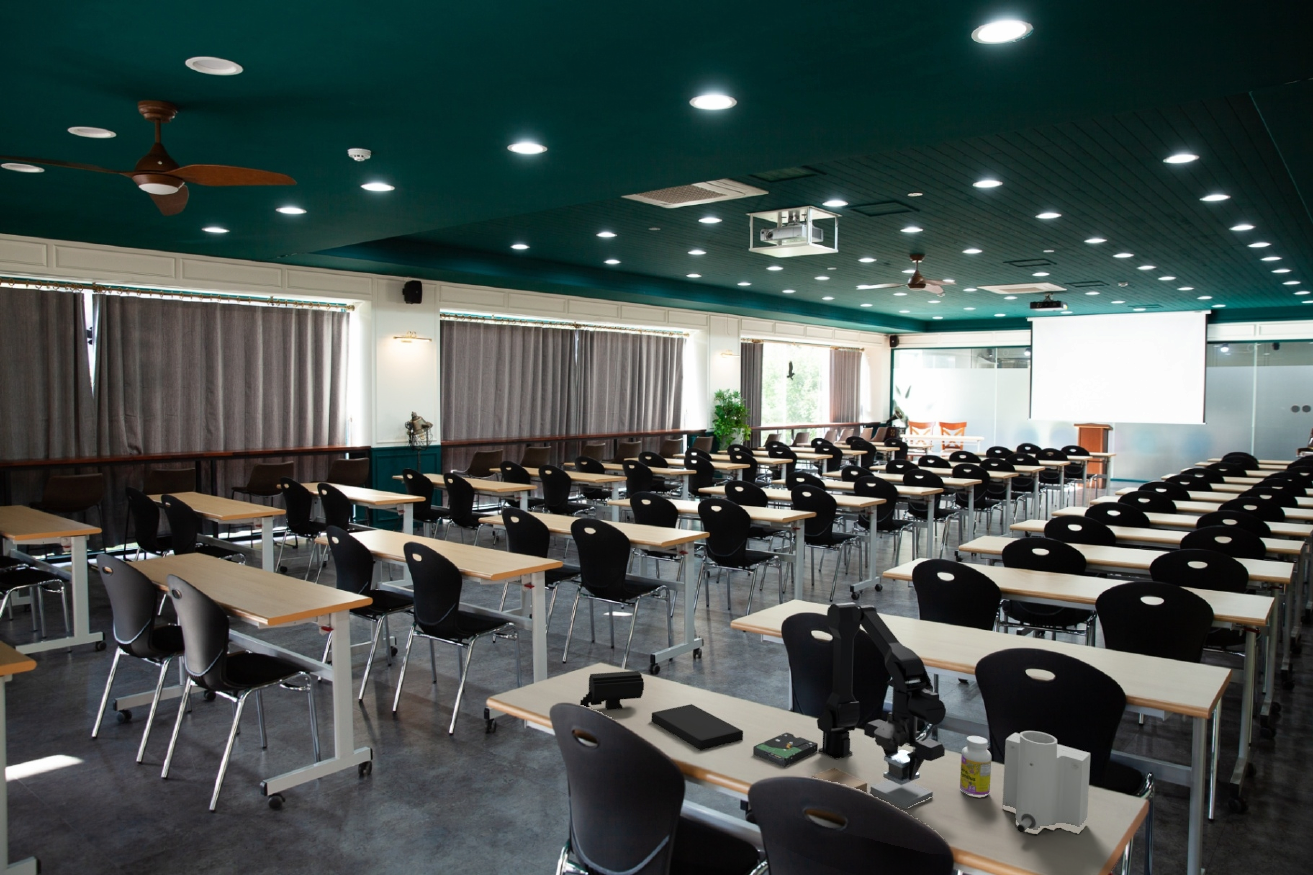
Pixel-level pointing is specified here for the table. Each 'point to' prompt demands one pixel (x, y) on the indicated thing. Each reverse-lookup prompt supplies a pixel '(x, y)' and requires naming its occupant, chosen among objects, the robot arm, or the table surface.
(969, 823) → the table surface
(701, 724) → the external hard drive
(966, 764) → the supplement bottle
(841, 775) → the stand
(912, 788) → the stand
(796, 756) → the disk drive
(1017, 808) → the grey cylinder bracket
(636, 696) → the security camera
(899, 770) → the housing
